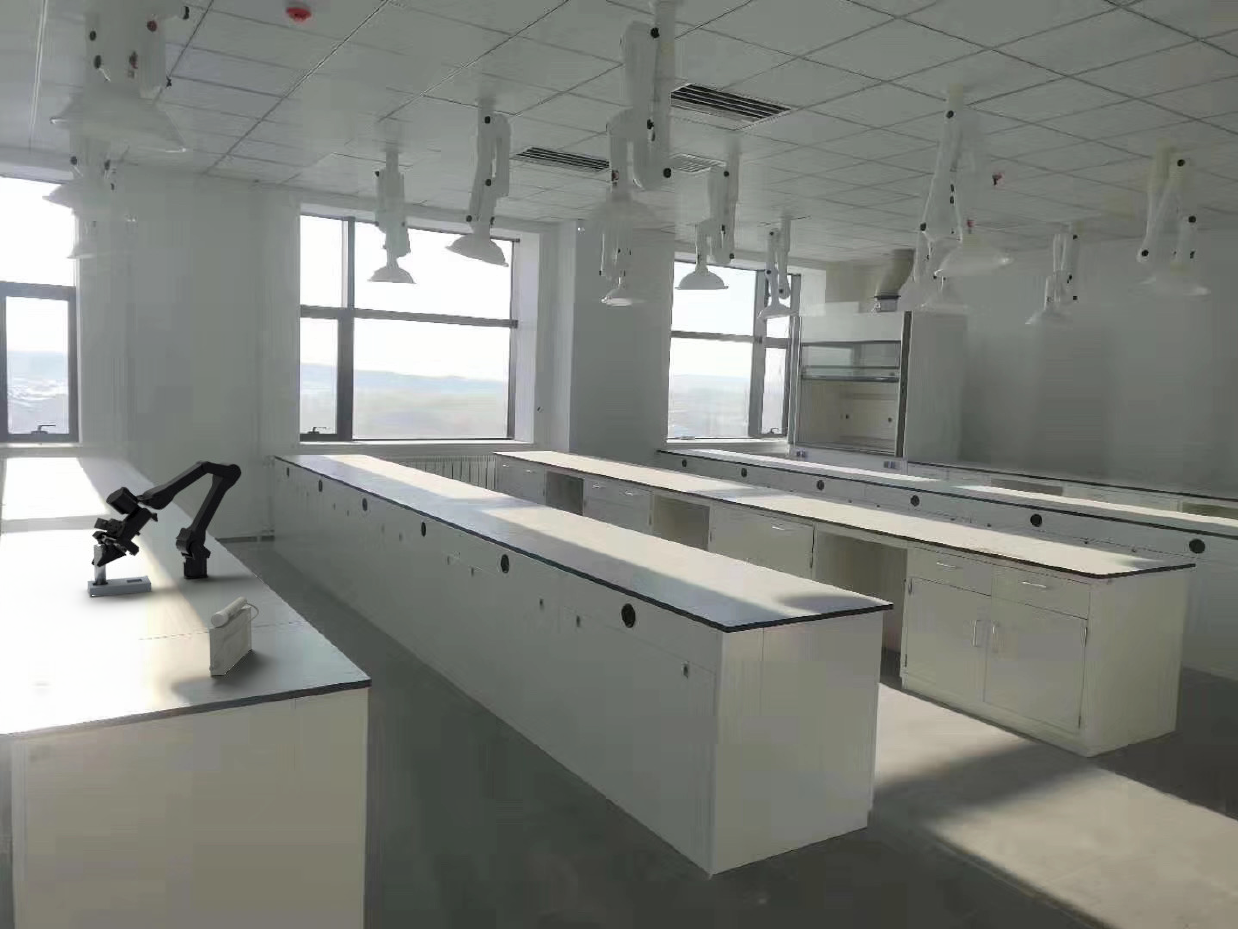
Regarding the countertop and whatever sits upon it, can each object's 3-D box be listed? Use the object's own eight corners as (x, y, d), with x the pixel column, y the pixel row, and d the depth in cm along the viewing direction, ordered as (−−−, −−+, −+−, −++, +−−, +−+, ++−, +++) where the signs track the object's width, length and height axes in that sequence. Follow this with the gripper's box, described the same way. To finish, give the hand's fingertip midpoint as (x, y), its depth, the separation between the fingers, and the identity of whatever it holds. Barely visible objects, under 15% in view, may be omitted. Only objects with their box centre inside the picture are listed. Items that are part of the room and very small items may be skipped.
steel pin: (107, 585, 272) (106, 544, 271) (105, 587, 269) (104, 546, 268) (95, 585, 271) (94, 544, 270) (93, 588, 268) (92, 546, 267)
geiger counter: (234, 593, 220) (194, 621, 195) (261, 593, 220) (225, 621, 196) (234, 649, 221) (196, 684, 197) (261, 649, 222) (226, 684, 197)
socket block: (147, 584, 281) (147, 576, 281) (151, 591, 273) (151, 582, 273) (87, 589, 273) (87, 581, 272) (90, 596, 264) (89, 588, 264)
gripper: (98, 504, 276) (59, 544, 269) (127, 511, 265) (88, 553, 258) (125, 526, 283) (88, 566, 276) (155, 534, 272) (117, 576, 265)
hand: (95, 565), depth 268 cm, fingers closed on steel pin, 3 cm apart
